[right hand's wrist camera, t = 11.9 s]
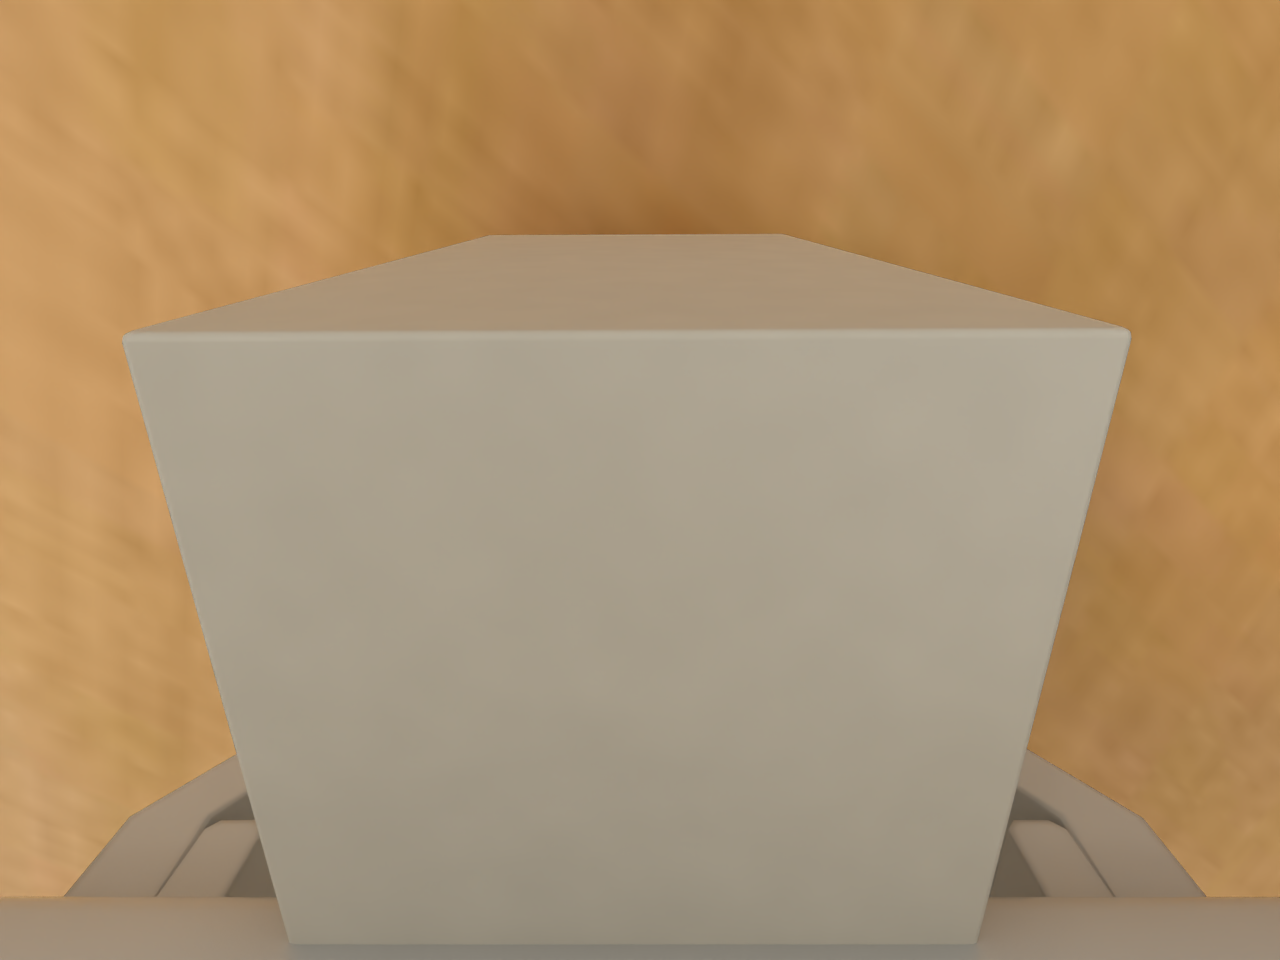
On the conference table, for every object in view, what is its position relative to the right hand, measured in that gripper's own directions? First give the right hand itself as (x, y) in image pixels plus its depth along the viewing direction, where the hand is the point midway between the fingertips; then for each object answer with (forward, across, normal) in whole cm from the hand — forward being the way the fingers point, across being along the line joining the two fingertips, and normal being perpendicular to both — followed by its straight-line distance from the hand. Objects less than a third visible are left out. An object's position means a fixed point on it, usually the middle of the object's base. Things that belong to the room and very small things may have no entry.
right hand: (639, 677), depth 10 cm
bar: (+4, 0, -23) cm, 24 cm away
